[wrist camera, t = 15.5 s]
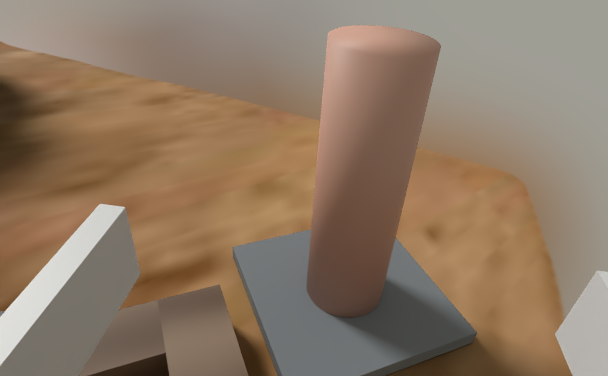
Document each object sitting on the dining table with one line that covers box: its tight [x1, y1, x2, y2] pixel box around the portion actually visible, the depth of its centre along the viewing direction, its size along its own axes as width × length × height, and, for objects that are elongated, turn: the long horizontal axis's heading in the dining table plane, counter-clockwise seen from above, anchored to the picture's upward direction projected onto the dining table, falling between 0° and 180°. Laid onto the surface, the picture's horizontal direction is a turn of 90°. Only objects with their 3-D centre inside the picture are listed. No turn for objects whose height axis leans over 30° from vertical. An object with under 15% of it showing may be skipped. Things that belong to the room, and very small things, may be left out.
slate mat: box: [233, 230, 477, 376], centre depth 28 cm, size 12×12×1 cm
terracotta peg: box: [306, 25, 441, 318], centre depth 23 cm, size 5×5×16 cm
